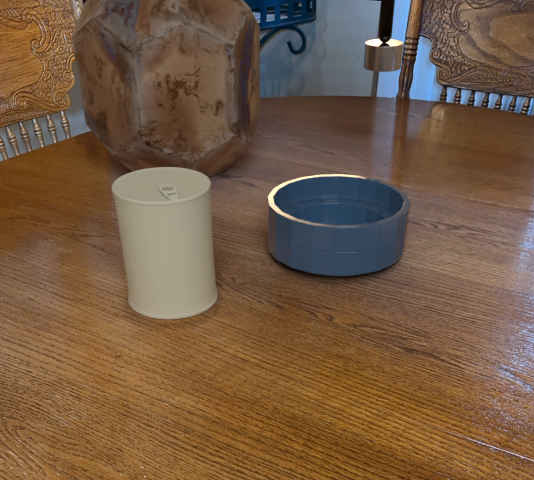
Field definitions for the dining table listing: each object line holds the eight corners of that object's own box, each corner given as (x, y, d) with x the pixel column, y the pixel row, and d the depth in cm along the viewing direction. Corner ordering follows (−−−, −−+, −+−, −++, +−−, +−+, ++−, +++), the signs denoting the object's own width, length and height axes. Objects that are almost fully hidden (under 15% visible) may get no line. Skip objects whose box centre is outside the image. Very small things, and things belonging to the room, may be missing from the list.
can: (142, 328, 67) (125, 203, 59) (117, 287, 74) (98, 169, 66) (231, 308, 70) (226, 187, 62) (200, 270, 77) (191, 156, 68)
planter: (274, 148, 108) (274, -44, 92) (229, 206, 90) (220, -18, 74) (139, 137, 112) (118, -48, 96) (71, 191, 94) (31, -24, 78)
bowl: (389, 223, 86) (395, 172, 82) (415, 280, 75) (423, 225, 71) (264, 226, 86) (264, 175, 81) (271, 284, 74) (271, 229, 70)
